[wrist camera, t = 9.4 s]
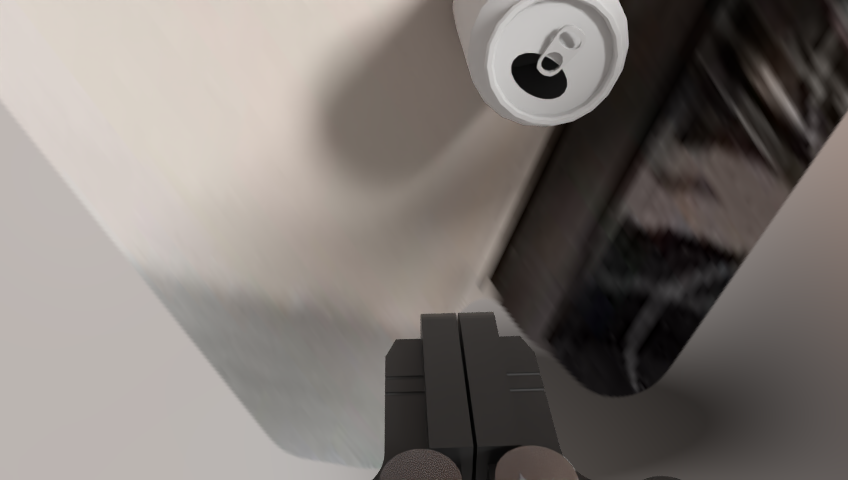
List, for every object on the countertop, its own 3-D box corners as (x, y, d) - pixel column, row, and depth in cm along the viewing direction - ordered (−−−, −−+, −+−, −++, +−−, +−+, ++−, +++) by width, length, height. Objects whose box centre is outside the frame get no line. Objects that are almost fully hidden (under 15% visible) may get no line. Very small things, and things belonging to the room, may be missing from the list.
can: (427, 21, 42) (438, 90, 31) (499, -97, 38) (538, -64, 28) (527, 84, 44) (569, 167, 34) (604, -23, 41) (675, 34, 30)
